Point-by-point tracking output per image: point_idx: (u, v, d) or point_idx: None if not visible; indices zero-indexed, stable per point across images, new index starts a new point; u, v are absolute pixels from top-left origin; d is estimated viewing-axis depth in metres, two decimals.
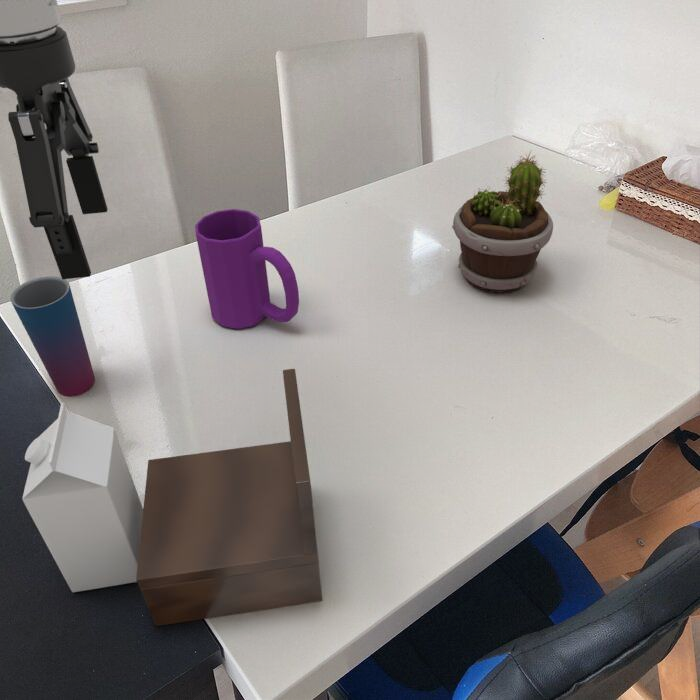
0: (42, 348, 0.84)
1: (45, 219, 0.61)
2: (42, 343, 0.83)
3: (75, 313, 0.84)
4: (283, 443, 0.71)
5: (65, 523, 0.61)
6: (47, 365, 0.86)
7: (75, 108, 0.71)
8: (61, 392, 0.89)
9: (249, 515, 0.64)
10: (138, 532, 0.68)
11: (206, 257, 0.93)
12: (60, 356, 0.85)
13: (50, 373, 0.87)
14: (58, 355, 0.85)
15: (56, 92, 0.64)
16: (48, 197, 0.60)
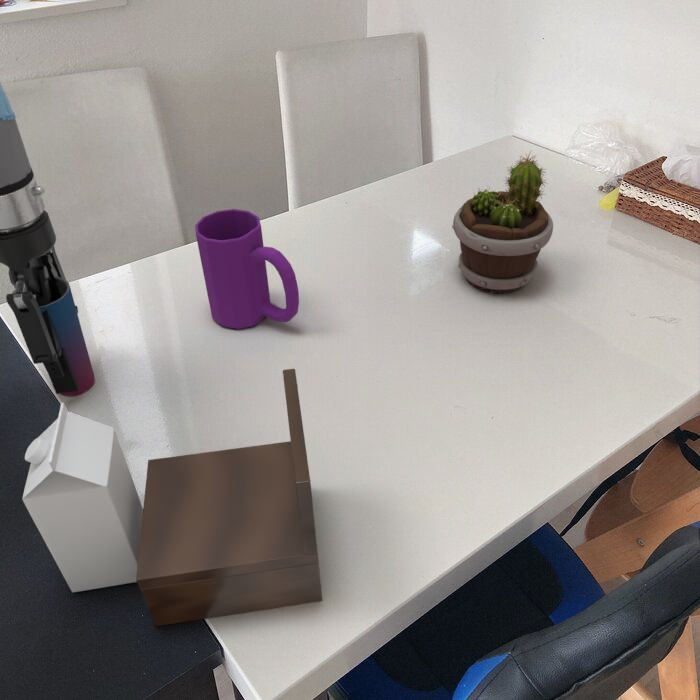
0: None
1: (43, 360, 0.80)
2: None
3: (75, 313, 0.84)
4: (283, 443, 0.71)
5: (65, 523, 0.61)
6: None
7: (58, 271, 0.86)
8: None
9: (249, 515, 0.64)
10: (138, 532, 0.68)
11: (206, 257, 0.93)
12: None
13: None
14: None
15: (41, 255, 0.80)
16: (44, 347, 0.79)
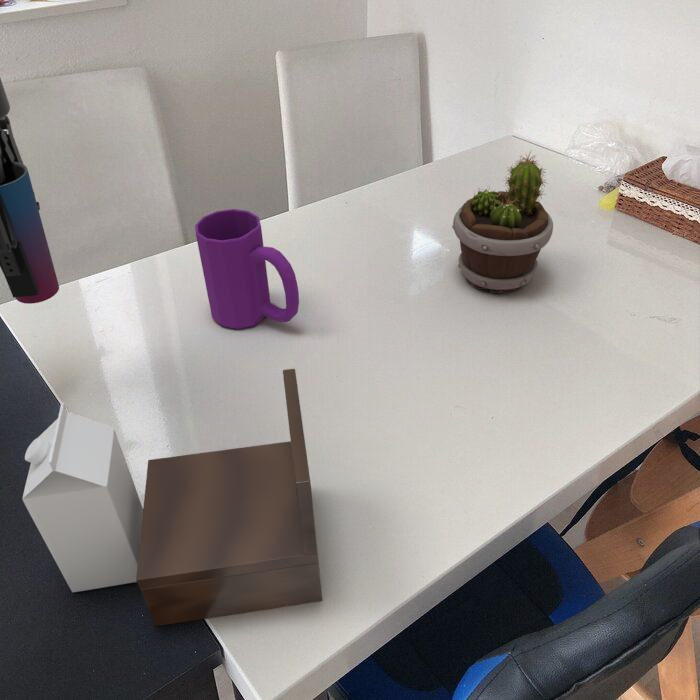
0: None
1: None
2: None
3: (34, 202, 0.75)
4: (283, 443, 0.71)
5: (65, 523, 0.61)
6: None
7: (16, 158, 0.76)
8: (20, 299, 0.79)
9: (249, 515, 0.64)
10: (138, 532, 0.68)
11: (206, 257, 0.93)
12: None
13: None
14: None
15: None
16: None
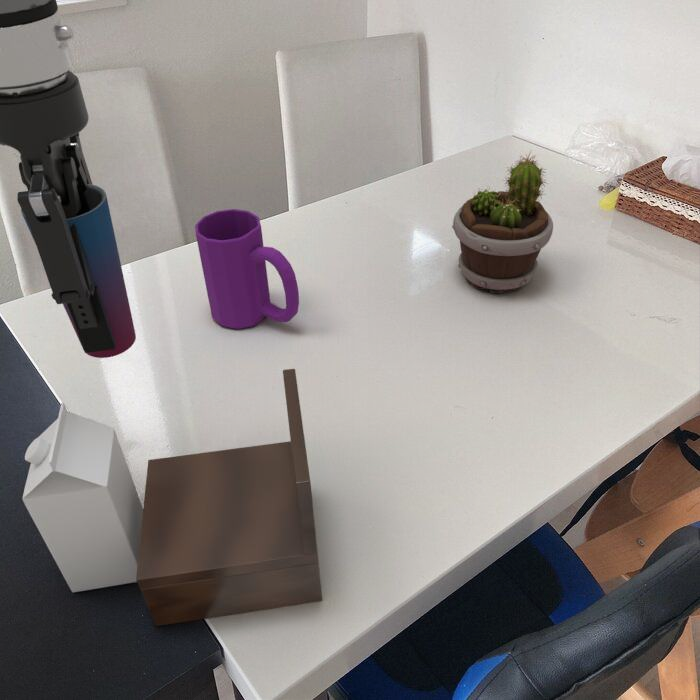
0: None
1: (70, 298, 0.55)
2: None
3: (113, 235, 0.59)
4: (283, 443, 0.71)
5: (65, 523, 0.61)
6: None
7: None
8: (91, 352, 0.64)
9: (249, 515, 0.64)
10: (138, 532, 0.68)
11: (206, 257, 0.93)
12: None
13: None
14: None
15: (65, 145, 0.55)
16: (72, 277, 0.54)
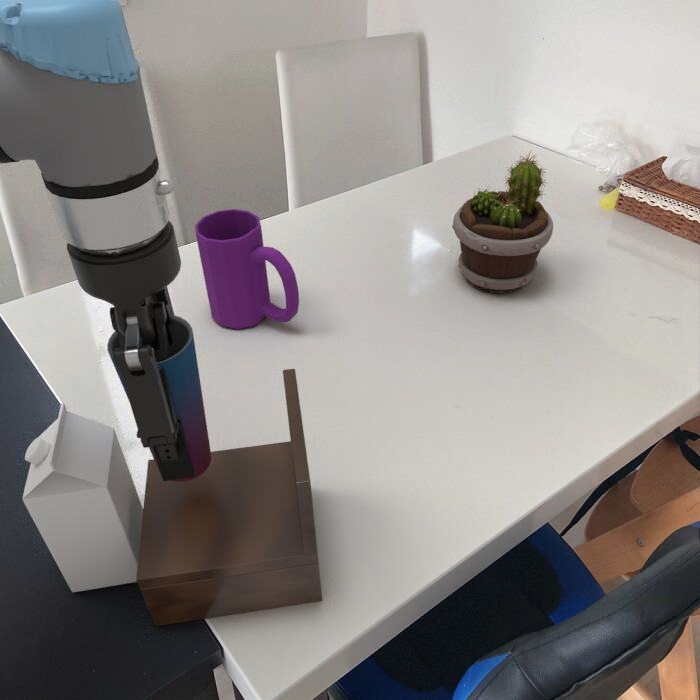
0: None
1: (158, 442, 0.53)
2: None
3: (197, 367, 0.57)
4: (283, 443, 0.71)
5: (65, 523, 0.61)
6: None
7: (168, 305, 0.59)
8: None
9: (249, 515, 0.64)
10: (138, 532, 0.68)
11: (206, 257, 0.93)
12: None
13: None
14: None
15: None
16: (161, 424, 0.52)
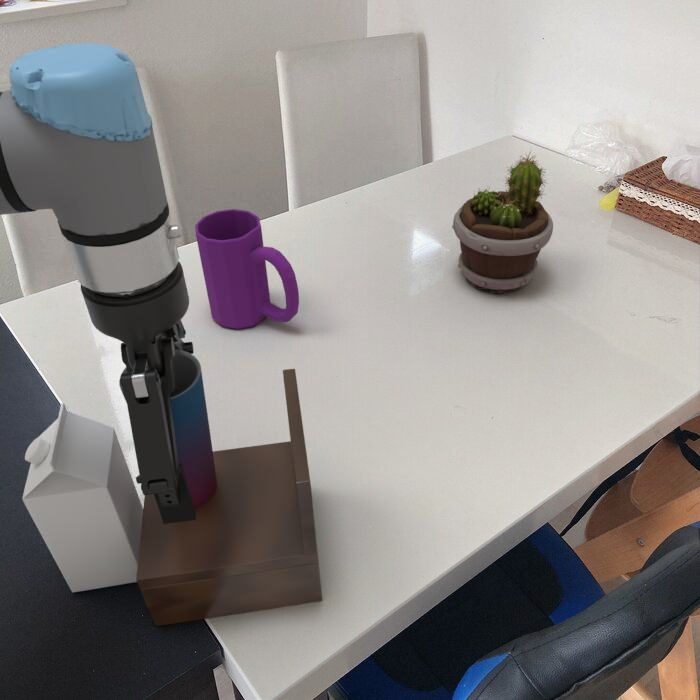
0: None
1: (158, 487, 0.52)
2: None
3: (205, 400, 0.60)
4: (283, 443, 0.71)
5: (65, 523, 0.61)
6: None
7: None
8: None
9: (249, 515, 0.64)
10: (138, 532, 0.68)
11: (206, 257, 0.93)
12: (182, 461, 0.60)
13: None
14: (180, 460, 0.60)
15: None
16: (162, 464, 0.51)
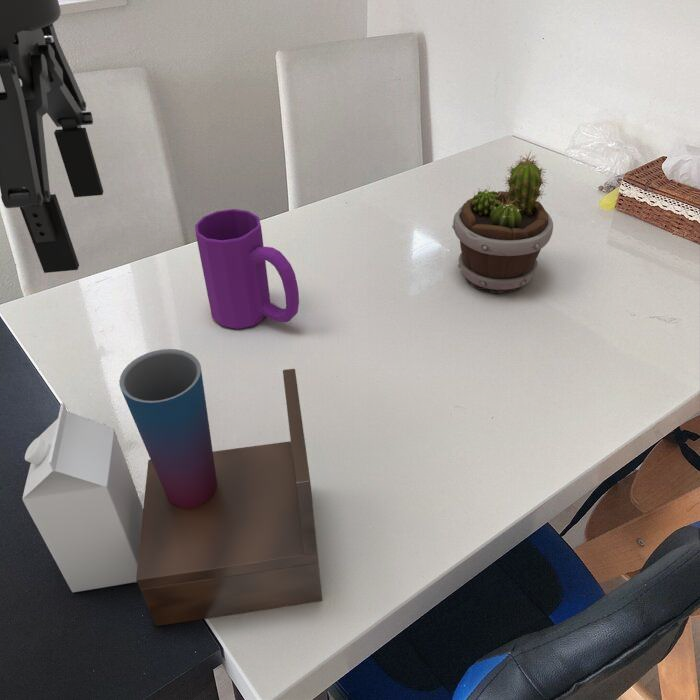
0: (159, 451, 0.59)
1: (19, 198, 0.49)
2: (160, 446, 0.59)
3: (205, 400, 0.60)
4: (283, 443, 0.71)
5: (65, 523, 0.61)
6: (162, 471, 0.62)
7: (64, 69, 0.59)
8: (175, 503, 0.65)
9: (249, 515, 0.64)
10: (138, 532, 0.68)
11: (206, 257, 0.93)
12: (182, 461, 0.60)
13: (164, 480, 0.63)
14: (180, 460, 0.60)
15: (38, 44, 0.53)
16: (23, 170, 0.49)
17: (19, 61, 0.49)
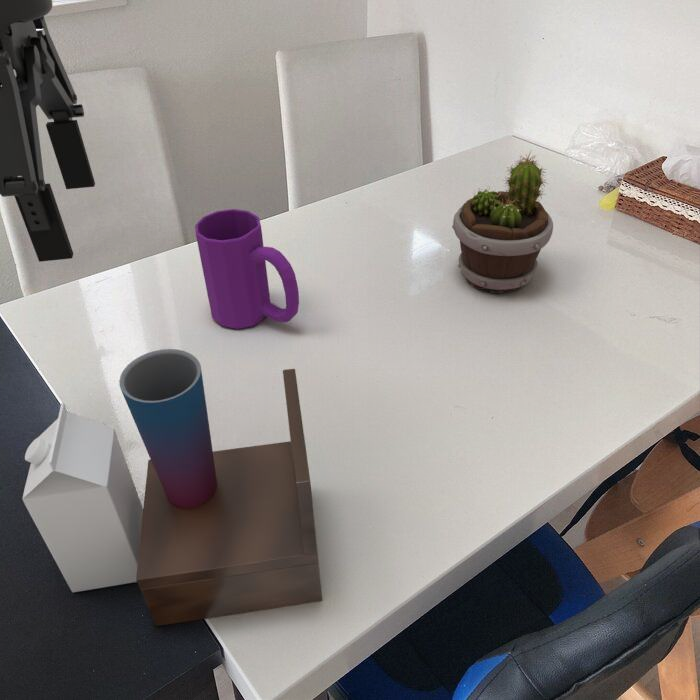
0: (159, 451, 0.59)
1: (15, 186, 0.50)
2: (160, 446, 0.59)
3: (205, 400, 0.60)
4: (283, 443, 0.71)
5: (65, 523, 0.61)
6: (162, 471, 0.62)
7: (55, 61, 0.60)
8: (175, 503, 0.65)
9: (249, 515, 0.64)
10: (138, 532, 0.68)
11: (206, 257, 0.93)
12: (182, 461, 0.60)
13: (164, 480, 0.63)
14: (180, 460, 0.60)
15: (30, 37, 0.54)
16: (18, 159, 0.50)
17: (13, 52, 0.50)
